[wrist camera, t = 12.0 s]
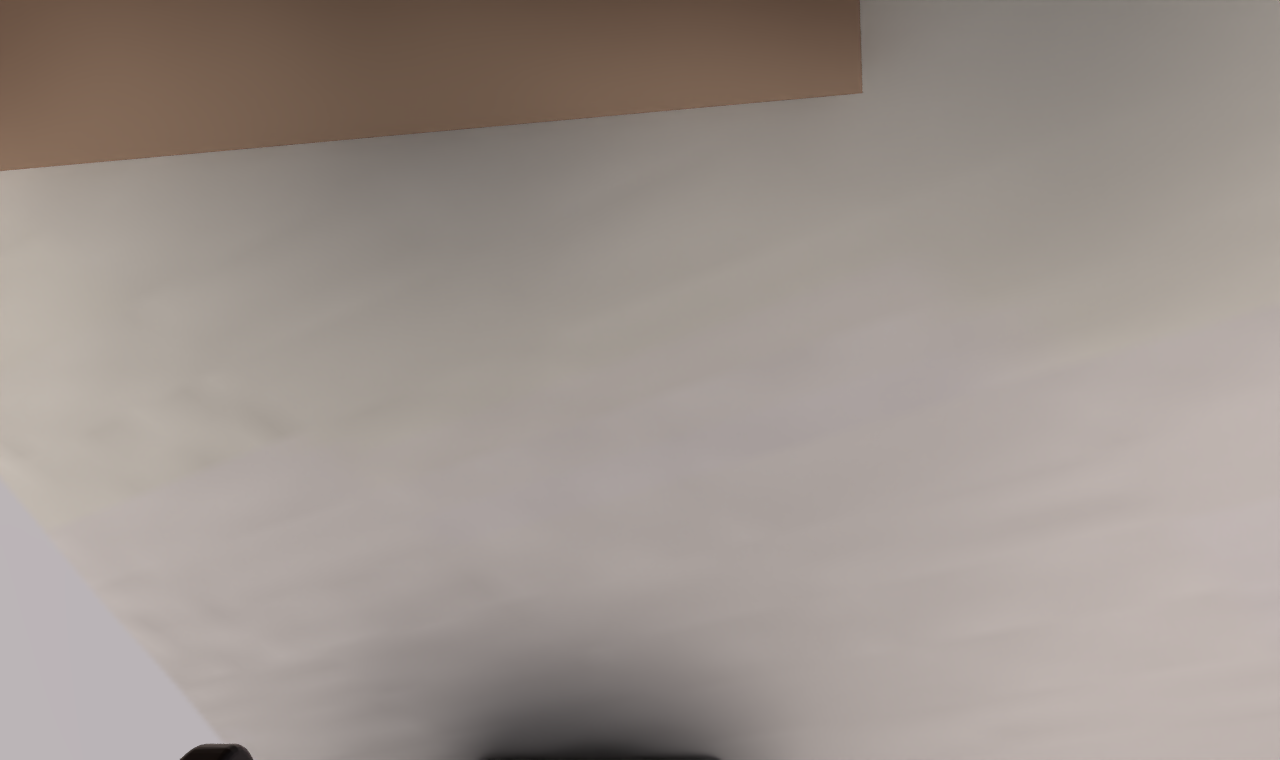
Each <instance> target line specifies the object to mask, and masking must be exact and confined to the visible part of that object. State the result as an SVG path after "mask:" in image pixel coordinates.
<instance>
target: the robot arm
mask: <svg viewBox="0 0 1280 760" xmlns="http://www.w3.org/2000/svg"><path fill="white" fill-rule="evenodd" d="M180 760H253V758H252V757H251V755H250V753H249V752H248V750H247V749H246V748H245V747H243V746H241V745H239V744H204V745H199V746H197V747H195V748H193V749H192V750H190V751H189V752H188V753H186V754H185V755H184V756H183V757H182V758H181V759H180Z"/></svg>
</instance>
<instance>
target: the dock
mask: <svg viewBox="0 0 1280 760" xmlns="http://www.w3.org/2000/svg"><path fill="white" fill-rule="evenodd" d="M857 93H862V62H861V30H860V0H0V171H5V170H16V169H27V168H38V167H49V166H60V165H71V164H82V163H93V162H104V161H115V160H127V159H138V158H149V157H160V156H171V155H182V154H193V153H204V152H215V151H226V150H237V149H248V148H259V147H270V146H281V145H293V144H304V143H315V142H326V141H337V140H348V139H359V138H370V137H381V136H392V135H403V134H414V133H425V132H436V131H447V130H458V129H470V128H481V127H492V126H503V125H514V124H525V123H536V122H547V121H558V120H569V119H580V118H591V117H602V116H613V115H624V114H636V113H647V112H658V111H669V110H680V109H691V108H702V107H713V106H724V105H735V104H746V103H757V102H768V101H779V100H790V99H801V98H813V97H824V96H835V95H846V94H857Z"/></svg>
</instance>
